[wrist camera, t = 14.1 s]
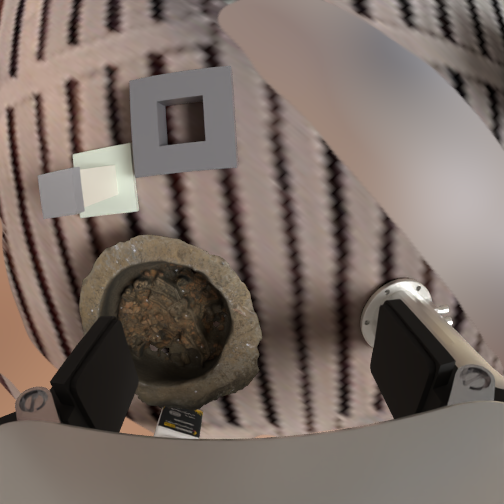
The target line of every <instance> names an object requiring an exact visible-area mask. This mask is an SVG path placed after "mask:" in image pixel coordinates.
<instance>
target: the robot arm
mask: <svg viewBox="0 0 504 504" xmlns="http://www.w3.org/2000/svg"><path fill="white" fill-rule="evenodd" d="M448 311H449V308H448V306H447V305H443V306H440V307H436V306H435V305H434V304H433V303H432V299H431V296H430V293H429V292H428V290H427V288H426V287H424V286H423V285H422V284H421V283H420V282H418V281H416V280H413V279H407V278H403V279H397V280H394V281H391V282H389V283H387V284H385V285H384V286H382V287H381V288H379V289H378V290H377V291H376V292H375V293H374V294H373V295H372V296H371V298H370V299H369V300H368V302H367V303H366V305H365V307H364V309H363V312H362V315H361V321H360V326H361V332H362V335H363V337H364V339H365V340H366V342H367V343H368V344H369V345H370V346H371V347H373V353H372V358H371V364H370V368H371V373H372V375H373V377H374V379H375V381H376V383H377V385H378V387H379V389H380V391H381V393H382V395H383V397H384V399H385V401H386V403H387V405H388V407H389V409H390V412H391V414H392V416H393V418H394V419H393V420H388V421H384V422H379V423H374V424H369V425H364V426H359V427H353V428H347V429H341V430H335V431H328V432H321V433H313V434H304V435H294V436H283V437H271V438H252V439H186V438H167V437H154V436H143V435H133V434H126V433H119V432H120V429H121V426H122V424H123V421H124V419H125V416H126V414H127V411H128V409H129V406H130V404H131V401H132V399H133V397H134V394H135V392H136V389H137V387H138V383H139V380H138V375H137V372H136V369H135V366H134V363H133V360H132V357H131V353H130V350H129V347H128V343H127V340H126V337H125V333H124V330H123V326H122V323H121V321H120V320H117V318H116V317H115V316H100V317H99V318H98V319H97V321H96V322H95V323H94V324H93V326H92V327H91V328H90V329H89V331H88V332H87V333H86V334H85V336H84V337H83V338H82V340H81V341H80V342H79V343H78V345H77V346H76V347H75V349H74V350H73V351H72V353H71V354H70V355H69V357H68V358H67V359H66V361H65V362H64V363H63V365H62V366H61V367H60V369H59V370H58V371H57V373H56V374H55V375H54V377H53V378H52V380H51V381H50V383H51V385H52V388H51V389H50V391H49V390H48V389H47V388H44V387H33V388H30V389H28V390H25V391H24V392H23V393H21V394H20V396H19V397H18V398H17V400H16V403H15V408H16V412H14V413H11V414H9V415H6V416H3V417H1V418H0V504H504V377H503V376H502V375H501V374H499V373H498V372H497V371H496V370H495V369H493V368H492V367H491V366H490V365H489V364H488V363H487V362H486V361H485V360H484V359H483V358H482V357H481V356H480V355H479V354H478V353H477V352H476V351H475V350H474V349H473V348H472V347H471V346H470V345H469V344H468V342H467V341H466V340H465V339H464V338H463V337H462V336H461V335H460V334H459V333H458V332H457V331H456V330H455V329H454V328H453V327H452V326H451V325H452V319H451V317H450V316H446V317H442V316H441V315H442V314H447V313H448ZM440 314H441V315H440Z"/></svg>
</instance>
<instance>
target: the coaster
mask: <svg viewBox="0 0 504 504" xmlns="http://www.w3.org/2000/svg"><path fill="white" fill-rule="evenodd" d="M73 164H74V167H80V170H81V169H88V168H95V167H102V166H109V165H115V166H116V177H117V187H118V195H116V196H113V197H111V198H108V199H105V200H103V201H100V202H98V203H95V204H92V205H90V206H87V207H85V211H84V212H82V213H80V218H85V217H93V216H101V215H109V214H118V213H127V212H136V211H139V205H138V197H137V188H136V179H135V170H134V159H133V146H132V143H127V144H122V145H116V146H111V147H106V148H101V149H96V150H91V151H86V152H82V153H78V154H73Z"/></svg>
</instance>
